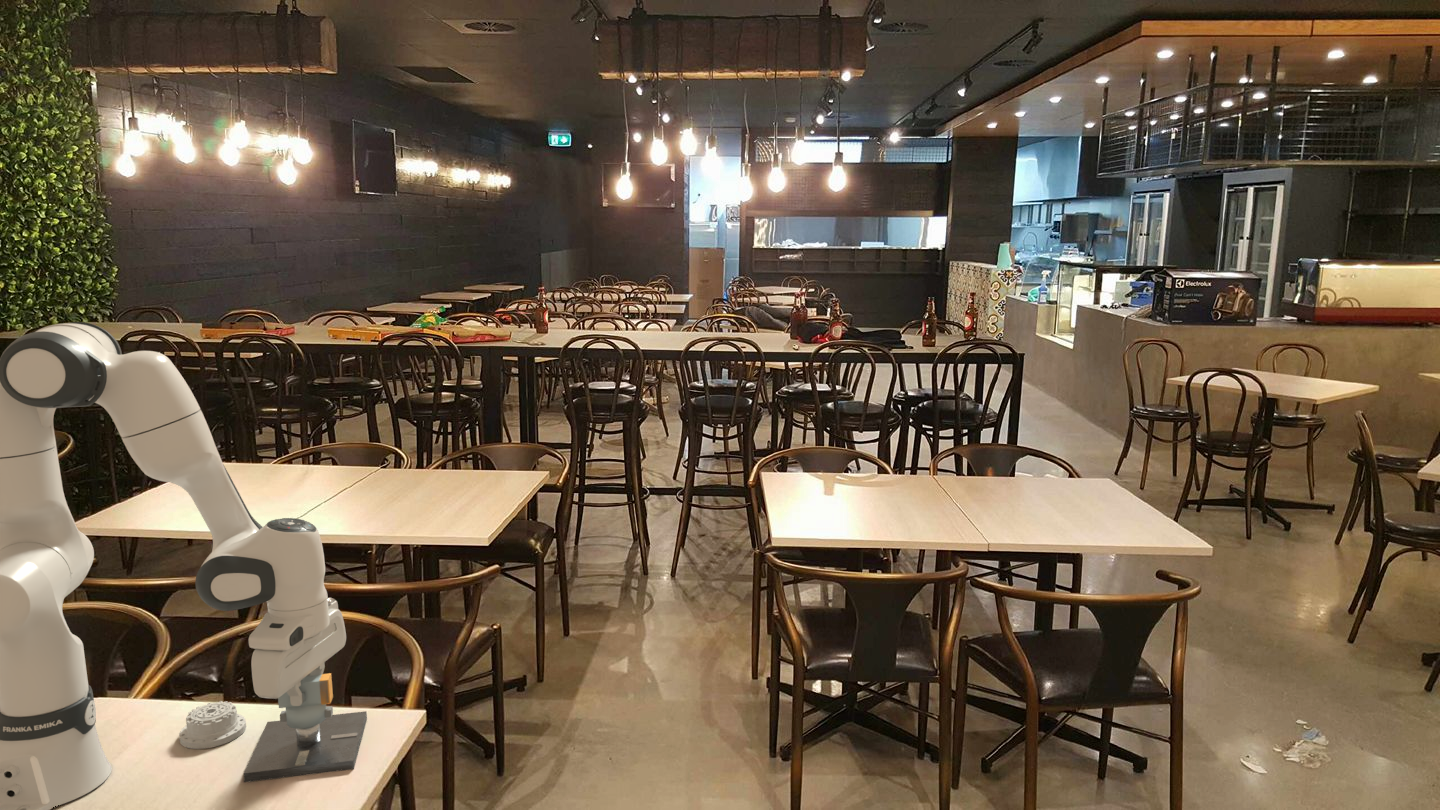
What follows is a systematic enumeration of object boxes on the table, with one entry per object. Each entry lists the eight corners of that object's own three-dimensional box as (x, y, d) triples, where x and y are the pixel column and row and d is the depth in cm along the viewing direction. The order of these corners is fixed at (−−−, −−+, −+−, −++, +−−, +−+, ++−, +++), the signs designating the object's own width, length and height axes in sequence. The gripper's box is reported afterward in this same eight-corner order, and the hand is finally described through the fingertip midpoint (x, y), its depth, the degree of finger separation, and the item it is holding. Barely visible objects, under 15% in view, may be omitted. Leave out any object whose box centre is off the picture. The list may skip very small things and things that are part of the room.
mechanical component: (165, 747, 155) (218, 753, 153) (162, 722, 154) (215, 729, 152) (209, 717, 165) (259, 723, 163) (206, 694, 164) (257, 699, 162)
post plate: (244, 782, 145) (241, 752, 144) (268, 729, 160) (265, 702, 159) (353, 769, 148) (351, 740, 147) (366, 719, 164) (365, 692, 163)
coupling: (277, 731, 149) (273, 689, 148) (285, 712, 155) (282, 672, 154) (329, 725, 151) (326, 684, 150) (336, 707, 157) (333, 668, 156)
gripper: (318, 592, 161) (324, 667, 163) (240, 642, 141) (249, 727, 143) (352, 594, 160) (358, 669, 162) (278, 645, 140) (286, 730, 142)
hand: (306, 697), depth 152 cm, fingers closed on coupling, 3 cm apart
